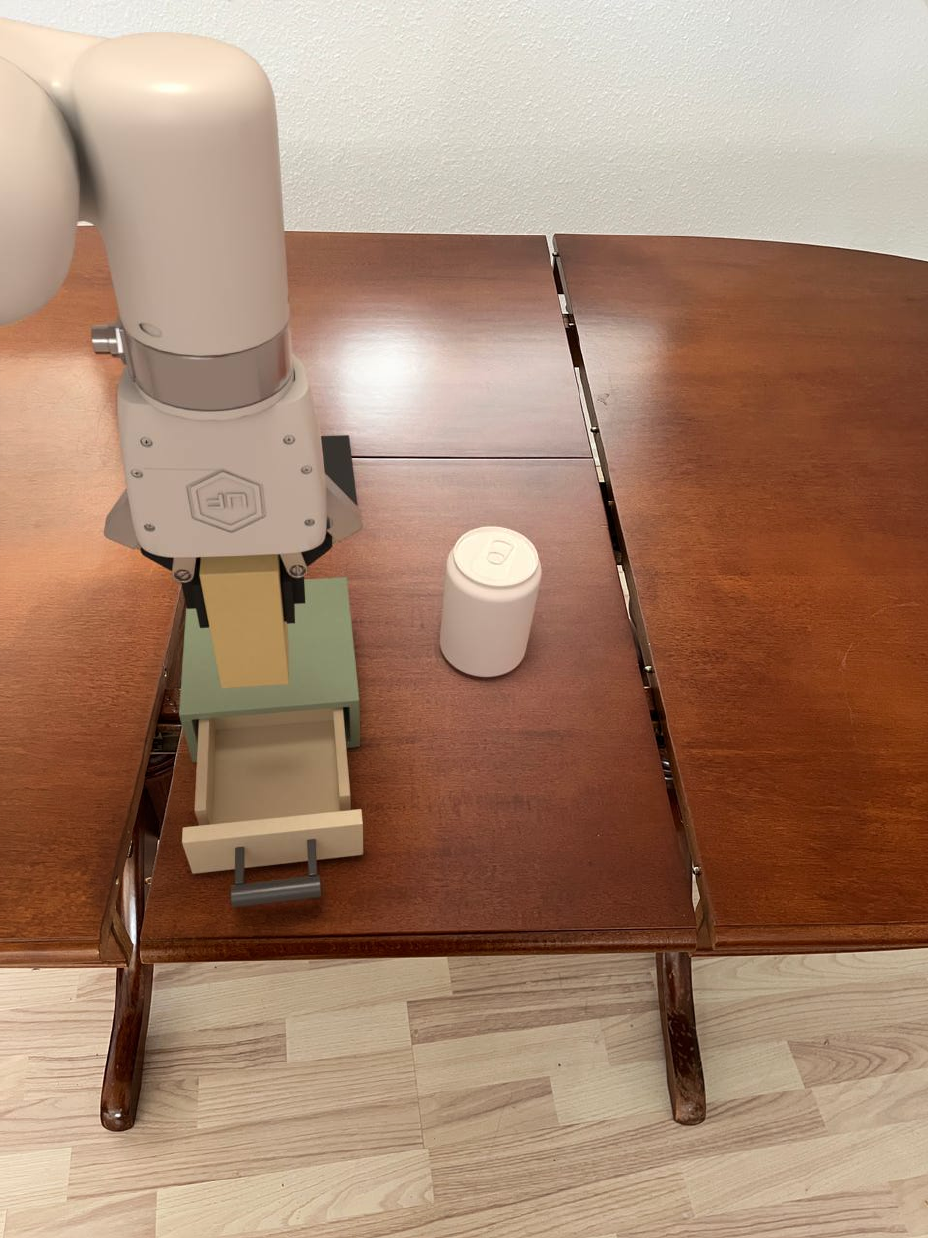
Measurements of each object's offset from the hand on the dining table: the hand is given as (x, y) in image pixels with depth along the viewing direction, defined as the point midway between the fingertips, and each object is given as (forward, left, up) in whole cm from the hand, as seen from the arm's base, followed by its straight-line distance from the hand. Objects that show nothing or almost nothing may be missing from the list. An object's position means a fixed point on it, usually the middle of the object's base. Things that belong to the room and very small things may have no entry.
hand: (248, 607), depth 54 cm
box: (0, 0, -5) cm, 5 cm away
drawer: (0, -4, -20) cm, 20 cm away
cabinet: (0, +9, -20) cm, 22 cm away
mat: (-1, +37, -20) cm, 42 cm away
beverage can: (+19, +12, -21) cm, 31 cm away
